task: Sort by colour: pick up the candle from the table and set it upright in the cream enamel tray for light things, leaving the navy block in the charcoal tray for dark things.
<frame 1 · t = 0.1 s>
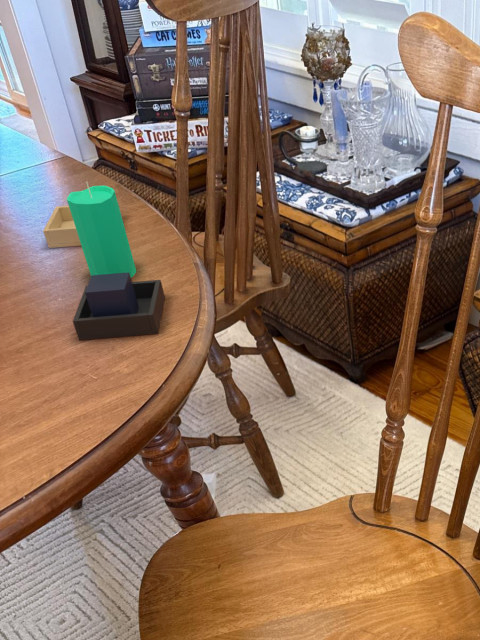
slate tray: (123, 318, 96), on the table
candle: (114, 275, 105), on the table
navy block: (118, 317, 95), resting on slate tray
cream tray: (86, 232, 115), on the table
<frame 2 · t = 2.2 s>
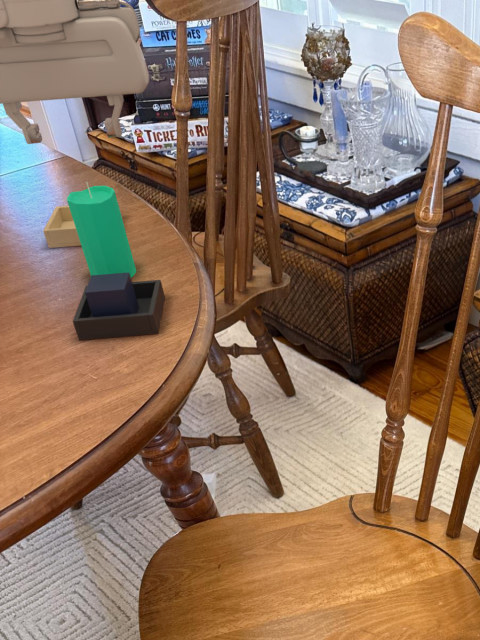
hand: (75, 139, 93), 17 cm above the table, tool pointing down, fingers open, 8 cm apart
nothing on the table moved.
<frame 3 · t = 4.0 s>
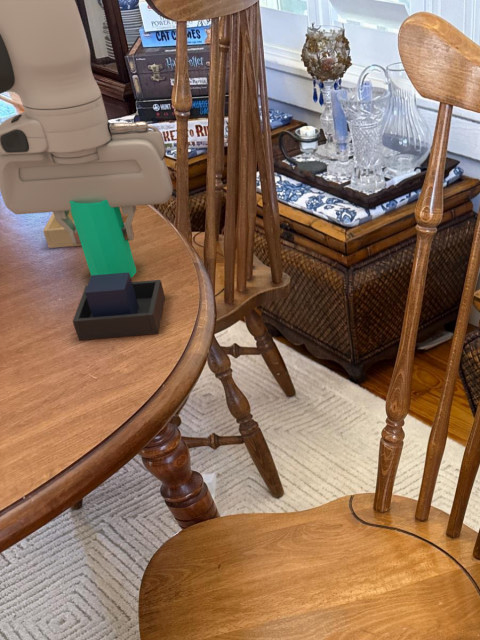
hand: (104, 241, 102), 5 cm above the table, tool pointing down, fingers closed on candle, 5 cm apart
candle: (114, 275, 105), on the table, touching gripper
everything else where it was.
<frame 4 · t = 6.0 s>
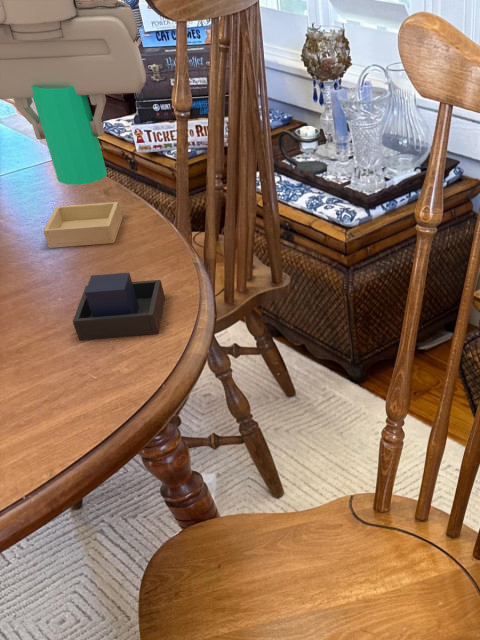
hand: (70, 136, 93), 17 cm above the table, tool pointing down, fingers closed on candle, 5 cm apart
candle: (82, 177, 97), point 12 cm above the table, touching gripper
everything else where it was.
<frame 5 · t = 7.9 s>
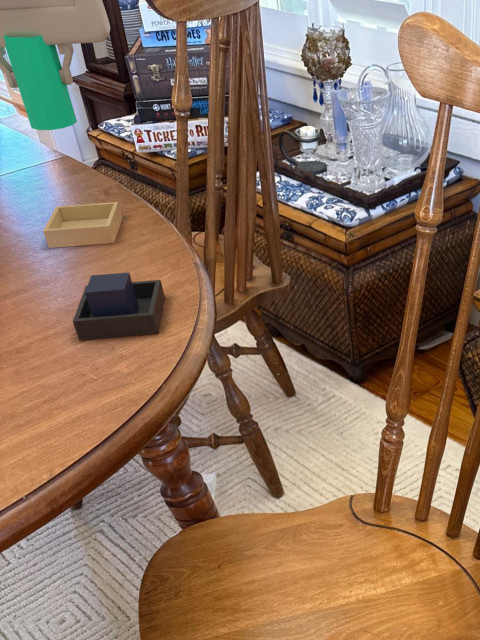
hand: (41, 85, 101), 20 cm above the table, tool pointing down, fingers closed on candle, 5 cm apart
candle: (54, 125, 104), point 15 cm above the table, touching gripper
everything else where it was.
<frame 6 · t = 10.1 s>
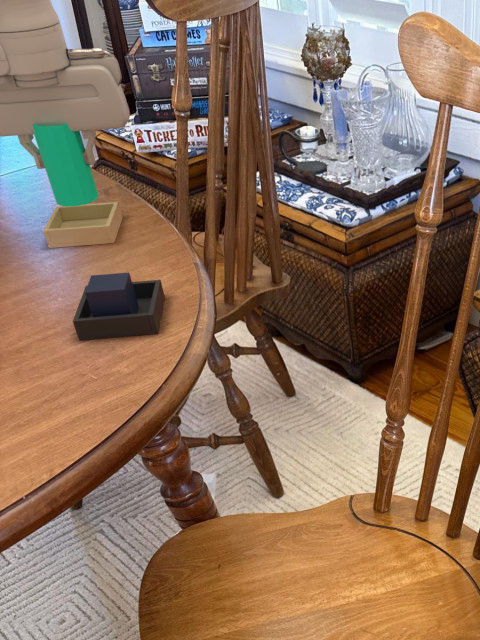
hand: (66, 165, 109), 9 cm above the table, tool pointing down, fingers closed on candle, 5 cm apart
candle: (77, 200, 112), point 5 cm above the table, touching gripper
everything else where it was.
when the fingers open (5 cm above the table, at t = 11.7 s): candle stays where it is, resting on cream tray.
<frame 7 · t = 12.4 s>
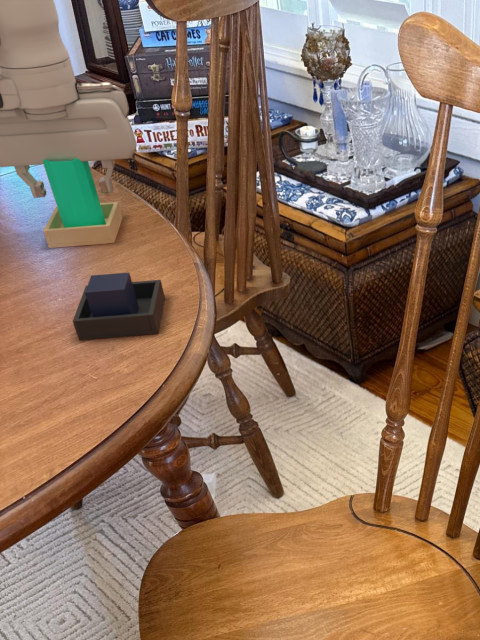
hand: (74, 194, 111), 6 cm above the table, tool pointing down, fingers open, 8 cm apart
candle: (86, 230, 115), resting on cream tray
everything else where it was.
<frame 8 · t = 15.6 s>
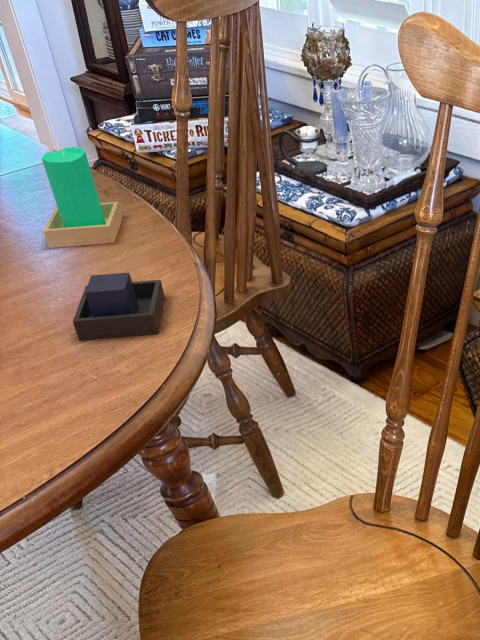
nothing on the table moved.
at the end: candle 0.1 cm off-centre in the cream tray, point 0.3 cm above the cream tray's base; candle tilted 0°; navy block inside the target area in the slate tray (0.7 cm from its centre), point 0.5 cm above the slate tray's base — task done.
